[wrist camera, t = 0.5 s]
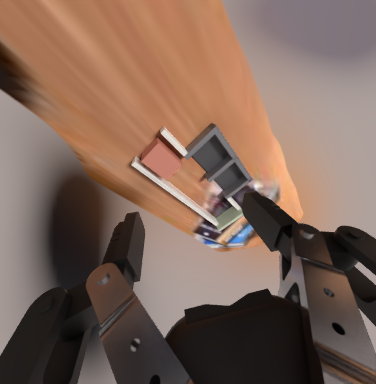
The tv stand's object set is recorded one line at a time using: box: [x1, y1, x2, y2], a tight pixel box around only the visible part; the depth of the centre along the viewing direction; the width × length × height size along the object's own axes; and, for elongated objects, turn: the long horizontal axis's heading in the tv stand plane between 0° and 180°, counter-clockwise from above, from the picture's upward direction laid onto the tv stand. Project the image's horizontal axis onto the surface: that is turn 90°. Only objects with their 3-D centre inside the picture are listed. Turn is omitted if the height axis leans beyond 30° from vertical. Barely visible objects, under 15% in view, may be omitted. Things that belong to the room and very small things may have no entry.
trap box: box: [131, 123, 253, 231], centre depth 33 cm, size 30×16×4 cm, turn 41°
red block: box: [141, 137, 182, 180], centre depth 27 cm, size 6×4×4 cm
